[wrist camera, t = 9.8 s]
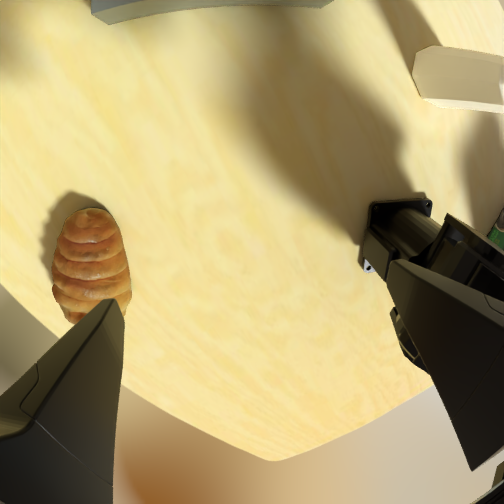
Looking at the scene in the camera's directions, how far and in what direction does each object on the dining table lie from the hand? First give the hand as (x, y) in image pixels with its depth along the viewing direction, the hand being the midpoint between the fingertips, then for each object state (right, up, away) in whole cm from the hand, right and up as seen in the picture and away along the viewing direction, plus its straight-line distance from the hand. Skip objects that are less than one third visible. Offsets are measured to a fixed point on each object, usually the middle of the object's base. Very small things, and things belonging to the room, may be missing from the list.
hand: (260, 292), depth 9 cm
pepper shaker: (+14, +15, +9) cm, 23 cm away
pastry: (-13, 0, +13) cm, 19 cm away
